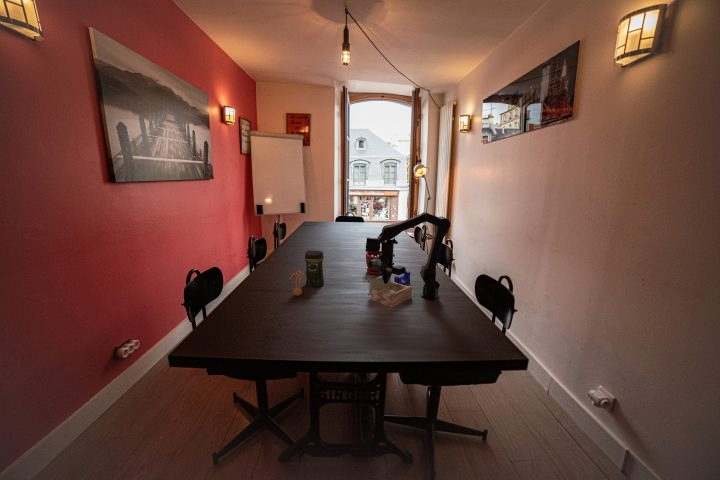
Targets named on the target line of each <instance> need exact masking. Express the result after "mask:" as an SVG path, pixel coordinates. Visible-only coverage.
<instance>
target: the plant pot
mask: <svg viewBox="0 0 720 480" xmlns="http://www.w3.org/2000/svg"><path fill="white" fill-rule="evenodd" d="M380 254H381V250H379V251H378V252H365V261H366V262H365V263H366V271H367V273H369V274H371V275H381V273H380V272H379V271H377V270H373V267H369V266H368V262H369V261H370V260H373V259H378V258H379V255H380Z"/></svg>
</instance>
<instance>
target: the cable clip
mask: <svg viewBox="0 0 720 480" xmlns="http://www.w3.org/2000/svg"><path fill="white" fill-rule="evenodd" d="M393 277H394V278H393V279H394V281H393V282H395V283H398V284H401V285H404V286H406V285H407V284H409V283H410V282H411V271H408V270H406V273H404V274H403V275H394V276H393Z"/></svg>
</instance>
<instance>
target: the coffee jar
mask: <svg viewBox="0 0 720 480" xmlns="http://www.w3.org/2000/svg"><path fill="white" fill-rule="evenodd" d="M324 257H325V256H324V251H323V250H311V249H308V250H306V251H305V254H304V261H305V267H306V268H305V276H306V278H307V281H306V278H304V279H305V281H304V282H305V283H304V284H305V285H306V286H307V287H314V288H315V287H317V288H319V287H322V286H324V283H325V278H324V277H325V276H324V268H323V263H324V262H323V261H324Z"/></svg>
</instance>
